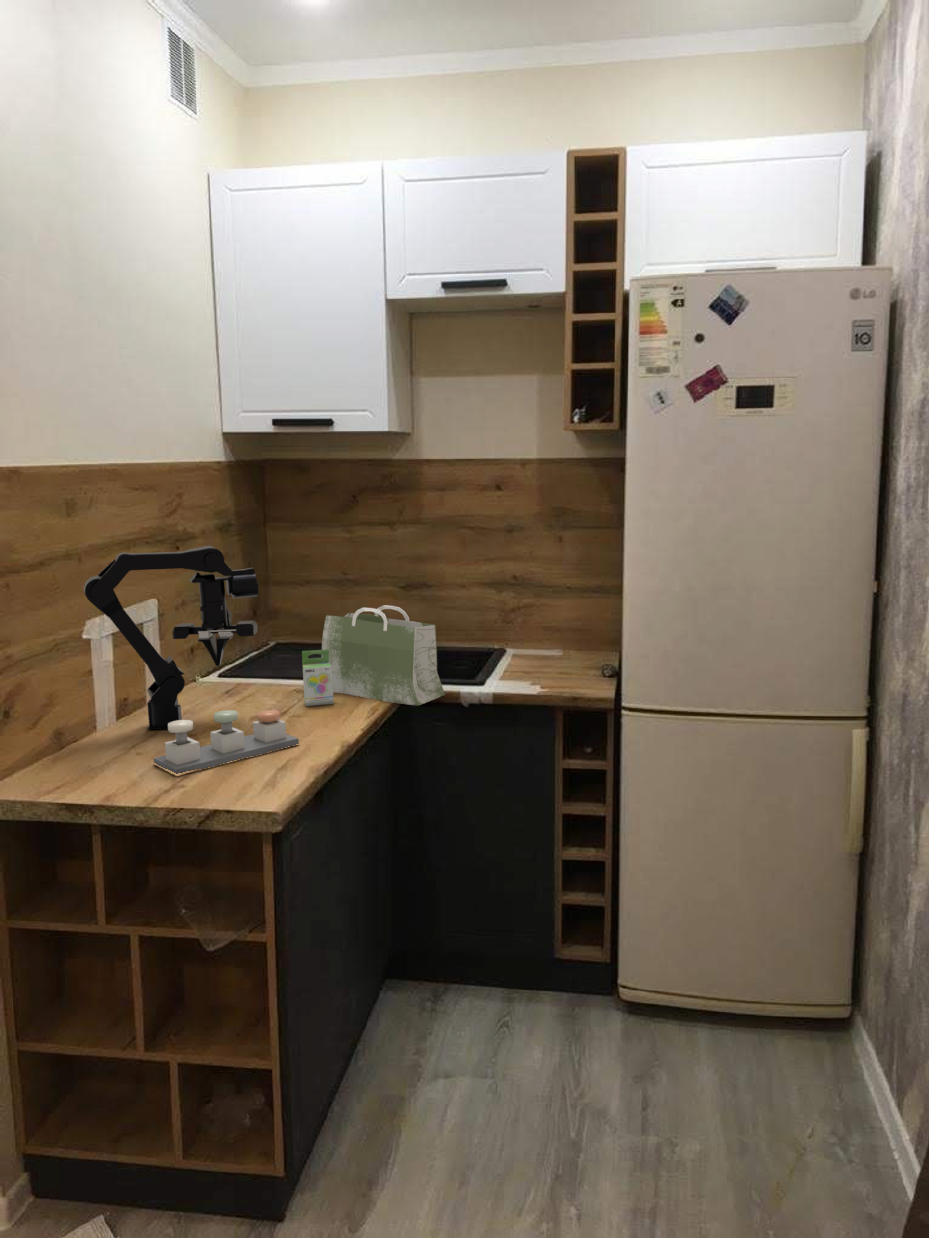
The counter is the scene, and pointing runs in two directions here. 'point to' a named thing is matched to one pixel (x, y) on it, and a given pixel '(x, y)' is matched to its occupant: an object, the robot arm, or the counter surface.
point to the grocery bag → (382, 657)
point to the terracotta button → (268, 716)
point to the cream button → (180, 730)
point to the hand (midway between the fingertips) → (218, 665)
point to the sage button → (226, 720)
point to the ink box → (317, 678)
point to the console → (225, 747)
